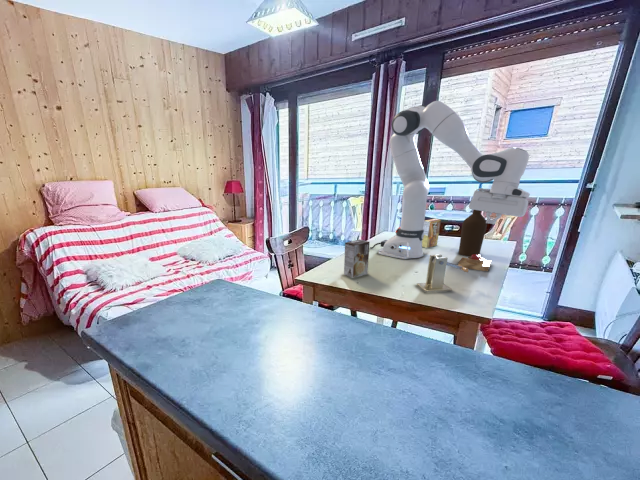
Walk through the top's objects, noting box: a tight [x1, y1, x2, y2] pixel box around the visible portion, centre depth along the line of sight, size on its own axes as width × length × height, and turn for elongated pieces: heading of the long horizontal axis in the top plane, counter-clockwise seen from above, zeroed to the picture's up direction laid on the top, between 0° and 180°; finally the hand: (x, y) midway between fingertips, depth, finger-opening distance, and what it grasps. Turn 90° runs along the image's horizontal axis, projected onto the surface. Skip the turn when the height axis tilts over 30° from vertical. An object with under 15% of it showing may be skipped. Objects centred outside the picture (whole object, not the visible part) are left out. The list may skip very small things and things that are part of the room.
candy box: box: [422, 218, 442, 249], centre depth 186 cm, size 9×4×15 cm, turn 116°
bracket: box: [416, 253, 452, 293], centre depth 130 cm, size 10×8×14 cm
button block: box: [457, 256, 492, 272], centre depth 154 cm, size 12×10×4 cm
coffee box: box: [343, 239, 371, 278], centre depth 149 cm, size 9×6×16 cm
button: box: [471, 254, 482, 260], centre depth 153 cm, size 4×4×2 cm
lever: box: [432, 256, 470, 273], centre depth 129 cm, size 13×6×2 cm, turn 90°
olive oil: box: [458, 210, 488, 257], centre depth 167 cm, size 11×11×25 cm
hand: (490, 223), depth 138 cm, fingers closed
